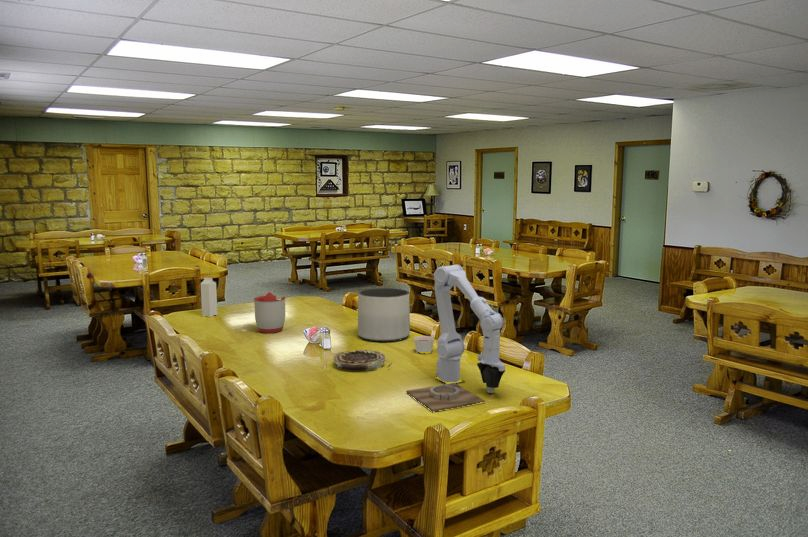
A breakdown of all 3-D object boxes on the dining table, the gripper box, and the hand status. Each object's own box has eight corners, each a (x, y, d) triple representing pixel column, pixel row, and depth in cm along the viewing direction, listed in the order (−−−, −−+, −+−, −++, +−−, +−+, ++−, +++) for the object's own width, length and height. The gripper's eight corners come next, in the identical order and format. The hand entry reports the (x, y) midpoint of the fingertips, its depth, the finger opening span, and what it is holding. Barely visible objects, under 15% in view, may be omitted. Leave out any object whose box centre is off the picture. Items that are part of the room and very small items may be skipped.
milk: (209, 314, 338) (207, 276, 336) (217, 315, 336) (216, 277, 333) (201, 316, 333) (200, 277, 330) (210, 317, 330) (208, 278, 328)
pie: (383, 378, 228) (382, 366, 228) (315, 375, 234) (315, 362, 233) (398, 358, 256) (398, 347, 255) (337, 355, 261) (337, 344, 260)
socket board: (406, 393, 211) (406, 390, 211) (454, 385, 220) (454, 382, 220) (432, 412, 193) (432, 409, 193) (484, 403, 202) (484, 400, 202)
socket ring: (425, 393, 209) (425, 387, 208) (449, 388, 213) (449, 383, 213) (438, 402, 200) (438, 396, 200) (464, 397, 204) (464, 392, 204)
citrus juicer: (295, 329, 305) (294, 290, 302) (270, 336, 290) (269, 296, 288) (272, 325, 313) (271, 287, 311) (248, 331, 299) (246, 292, 296)
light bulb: (496, 390, 214) (497, 364, 213) (499, 396, 208) (500, 368, 207) (481, 391, 214) (481, 364, 212) (483, 396, 208) (484, 369, 207)
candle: (434, 349, 267) (434, 336, 266) (433, 355, 258) (433, 341, 258) (414, 349, 268) (414, 335, 267) (413, 354, 259) (413, 340, 258)
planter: (350, 333, 297) (350, 289, 294) (396, 328, 307) (396, 286, 304) (369, 345, 274) (369, 298, 271) (418, 339, 285) (418, 294, 282)
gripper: (470, 344, 214) (470, 380, 215) (493, 354, 201) (492, 393, 203) (487, 342, 217) (486, 377, 218) (510, 352, 204) (509, 390, 206)
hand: (490, 385), depth 211 cm, fingers closed on light bulb, 5 cm apart
